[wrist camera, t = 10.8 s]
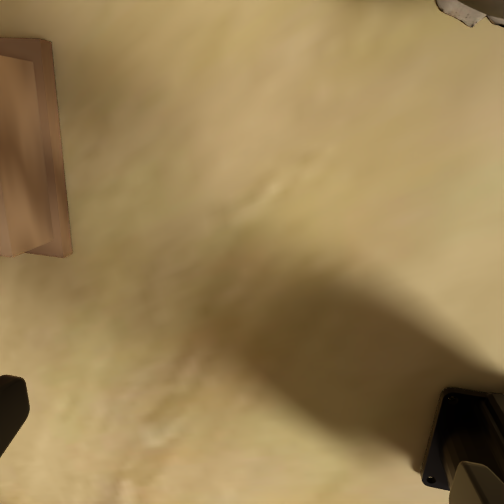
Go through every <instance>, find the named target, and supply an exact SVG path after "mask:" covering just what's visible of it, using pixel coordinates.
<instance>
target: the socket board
mask: <svg viewBox="0 0 504 504" xmlns="http://www.w3.org/2000/svg"><path fill="white" fill-rule="evenodd" d="M22 253H30V254H38V255H46V256H53V257H61V258H64V257H66V256H68V255H70V254H72V243H71V233H70V223H69V213H68V203H67V193H66V183H65V173H64V164H63V154H62V144H61V134H60V124H59V114H58V104H57V94H56V84H55V74H54V64H53V55H52V45H51V42H49V41H46V40H42V39H29V38H0V256H6V257H15V256H17V255H19V254H22Z"/></svg>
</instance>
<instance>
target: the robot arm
mask: <svg viewBox="0 0 504 504" xmlns="http://www.w3.org/2000/svg"><path fill="white" fill-rule="evenodd" d="M451 396H455V398H454V399H448V398H449V397H451ZM29 410H30V405H29V399H28V393H27V387H26V382H25V380H24V379H23V378H21V377H17V376H12V375H2V376H0V457H1V456H2V454H3V453H4V451H5V450H6V448H7V447H8V446H9V444H10V443H11V441H12V440H13V438H14V437H15V435H16V434H17V432H18V431H19V429H20V428H21V426H22V425H23V423H24V422H25V421H26V419H27V417H28V414H29ZM429 477H432V478H429ZM421 479H422V482H423V483H424V484H425V485H426V486H429V487H433V488H438V489H443V490H448V491H450V494H449V504H504V395H503V394H497V393H484V392H477V391H471V390H465V389H459V388H446V389H444V390H443V391H442V393H441V395H440V399H439V403H438V407H437V411H436V415H435V418H434V422H433V426H432V430H431V434H430V438H429V442H428V446H427V449H426V453H425V457H424V461H423V465H422V469H421Z"/></svg>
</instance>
